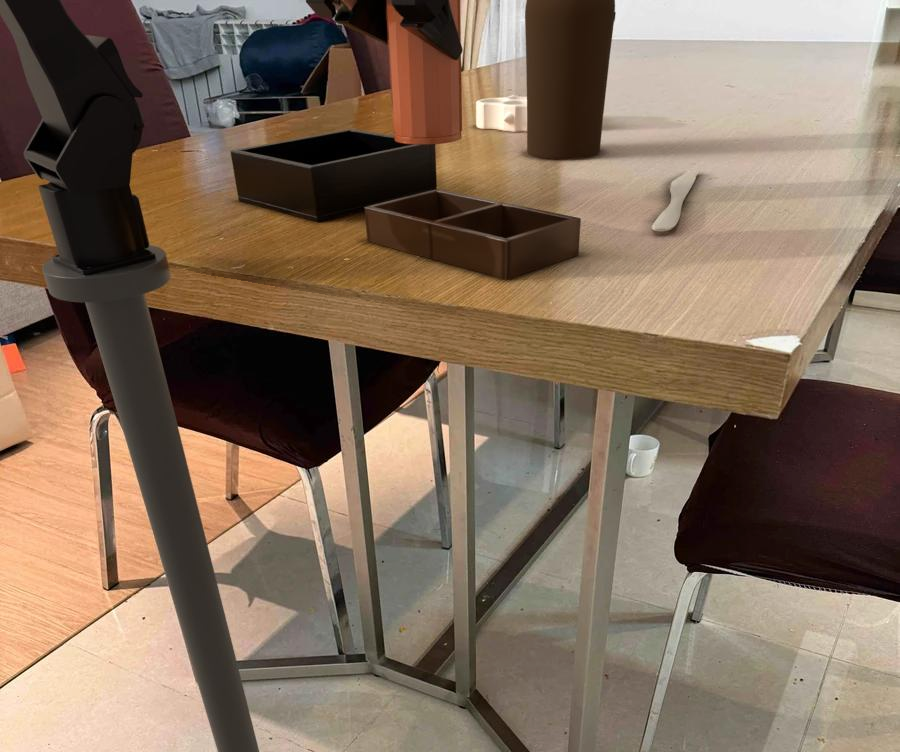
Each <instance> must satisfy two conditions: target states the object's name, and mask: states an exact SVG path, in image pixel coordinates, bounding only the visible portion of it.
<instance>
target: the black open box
mask: <svg viewBox="0 0 900 752" xmlns="http://www.w3.org/2000/svg"><path fill="white" fill-rule="evenodd" d="M436 150H437V149H436V144H431V145H413V144H403V143H399V142H396V141H395V140H394V134H388V133H387V134H385V133H380V132H374V131H373V132H372V131H368V130H367V131H366V130H361V129H354V128H349V129H348V128H347V129H342V130H337V131H332V132H326V133H321V134H315V135H309V136H303V137H298V138H293V139H288V140H287V139H286V140H282V141H276V142H271V143H265V144H260V145H254V146H249V147H244V148H237V149H232V150H230V157H231V158H230V159H231V163H232V170H233V176H234V181H235V187H236V192H237V199H238V202H242V203H246V204H249V205H253V206H256V207H260V208H264V209H268V210H271V211H274V212H279V213H282V214H285V215H290V216H293V217H296V218H301V219H305V220H309V221H312V222H315V223H320V222H324V221H327V220H332V219H335V218H339V217H343V216H348V215H351V214H355V213H359V212H363V211H364V212H365V209H364V207H367V206H371V205H375V204H379V203H383V202H387V201H391V200H395V199H399V198H403V197H407V196H411V195H415V194H420V193H424V192H428V191H432V190H436V189H438V181H437V156H436V153H437V151H436Z"/></svg>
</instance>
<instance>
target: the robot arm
mask: <svg viewBox="0 0 900 752" xmlns="http://www.w3.org/2000/svg"><path fill="white" fill-rule="evenodd" d="M305 3H306V4H307V6H309V8H310V9H311V10H312V11H313V13H314V14H315V15H316V16H317V17H318V19H334V20H333V21H334V22H335V23H336V24H338V25H342V26H345V27H347V28H349V29H351V30H354V31H355V32H359V33H360V34H362V35H364V36H367V37H369V38H371V39H373V40H375V41H378V42H380V43H382V44H384V45H386V46H388V35H387V18H386V1H385V0H305ZM392 6H393V7H394V8H395V10H396V11H397V12H398V13H399V15H401V16H402V17H403V20H402V21H401V23H400V26H402V27H403V28H405V29H406V30H408V31H409V32H411V33H412V34H414V35H415V36H417V37H419V38H420V39H422V40H423V41H425V42H426V43H428V44H429V45H431V46H433V47H434V48H436V49H437V50H439V51H440V52H442V53H443V54H445V55H447V56H448V57H450V58H452V59H454V60H458V59H459V57H460V55H461V56H462V53H463V45H462V41H461V42H460V38H459V35H458V32H457V28H456V25H455V22H454V18H453V15H452V11H451V7H450V2H449V0H392ZM0 17H1V19H2V20H3V22H4V24H5V25H6V27H7V28H8V30H9V32H10V33H11V35H12V38H13V40H14V43H15V45H16V48H17V52H18V55H19V59H20V63H21V65H22V69H23V72H24V76H25V78H26V83H27V86H28V87H29V90H30V93H31V95H32V97H33V99H34V102H35V104H36V106H37V108H38V111H39V113H40V116H41V120H40V122H39V123H38V125H37V126H36V129H35V131H34V132H33V134H32V136H31V138H30V140H29V141H28V143H27V145H26V147H25V148H24V150H23V156H24V159H25V160H26V162H27V163H28V164H29V166H30V168H31V169H32V171H33V172H34V174H35V175H36V176H37V177H38V179H41V180H45V181H47V183H45V184H40V185H38V186H37V187H38V190H39V194H40V197H41V200H42V205H43V208H44V210H45V214H46V217H47V220H48V224H49V226H50V230H51V233H52V237H53V241H54V243H55V246H56V251H57V254H53V255H52V256H51V259H53V262H55V263H57V264H59V265H61V266H64V267H66V268H68V269H70V270H72V271H75V272H77V273H79V274H81V275H92V274H96V273H100V272H104V271H108V270H112V269H116V268H120V267H124V266H128V265H133V264H137V263H141V262H145V261H149V260H153V259H155V258H156V256H155V252H152V251H150V250H147V249H145V248H148V247H149V245H151V244H150V240H149V237H148V232H147V228H146V224H145V220H144V215H143V211H142V207H141V203H140V198H139V196H137V195H136V194H134V193H133V192H132V188H131V185H130V184H131V177H132V163H133V154H134V153H135V152H136V151H137V149H138V147H139V145H140V144H141V142H142V136H143V130H144V128H145V121H144V116H143V113H142V110H141V108H140V107H141V106H140V104H139V103H138V101H137V99H136V98H139V99H141V98H143V92H142V91H141V90H139V88H137V86H136V85H134V83H133V82H132V80H131V78H130V77H129V76H128V74H127V71H126V69H125V66H124V64H123V61H122V58H121V55H120V52H119V50H118V48H117V46H116V44H115V42H114V40H113V39H112V37H111V38H110V37H106V36H97V35H87V34H85V33H84V32H83V31H82V30H81V29H80V28H79V27H78V25H77V24H76V23H75V21H73V19H72V18H71V16H70V15H69V13H68V12H67V10H66V7H65V6H64V4H63V2H62V0H0Z"/></svg>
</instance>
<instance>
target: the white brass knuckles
mask: <svg viewBox="0 0 900 752" xmlns="http://www.w3.org/2000/svg"><path fill="white" fill-rule="evenodd" d="M475 109H476V110H475V118H476V119H475V126H476V128H477V129H481V130H499V131H504V132H513V133H521V132H524V133H525V132H526V133H527V96H520V95H517V94H512V95H511V94H510V95H509V96H503V97H488V98H487V97H486V98H481V99H478V100H477V101H476V102H475Z"/></svg>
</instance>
